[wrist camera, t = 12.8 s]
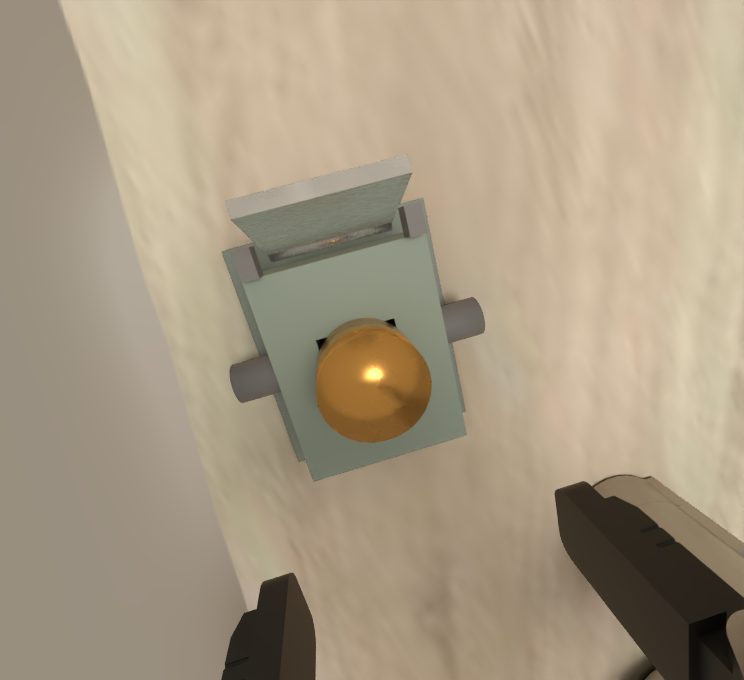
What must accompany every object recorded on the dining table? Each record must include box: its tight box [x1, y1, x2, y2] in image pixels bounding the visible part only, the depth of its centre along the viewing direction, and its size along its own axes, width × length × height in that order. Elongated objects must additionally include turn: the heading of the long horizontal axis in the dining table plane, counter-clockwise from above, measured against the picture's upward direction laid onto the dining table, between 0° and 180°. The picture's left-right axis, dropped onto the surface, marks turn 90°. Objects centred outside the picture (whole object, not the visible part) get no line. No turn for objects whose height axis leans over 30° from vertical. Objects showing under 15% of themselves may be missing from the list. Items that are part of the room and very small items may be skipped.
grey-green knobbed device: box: [222, 198, 485, 482], centre depth 27 cm, size 18×18×8 cm
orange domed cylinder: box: [316, 318, 432, 443], centre depth 25 cm, size 6×6×10 cm
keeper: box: [225, 154, 412, 262], centre depth 18 cm, size 7×1×8 cm, turn 104°
